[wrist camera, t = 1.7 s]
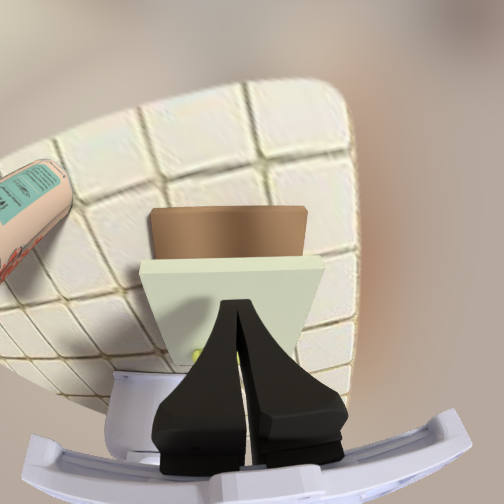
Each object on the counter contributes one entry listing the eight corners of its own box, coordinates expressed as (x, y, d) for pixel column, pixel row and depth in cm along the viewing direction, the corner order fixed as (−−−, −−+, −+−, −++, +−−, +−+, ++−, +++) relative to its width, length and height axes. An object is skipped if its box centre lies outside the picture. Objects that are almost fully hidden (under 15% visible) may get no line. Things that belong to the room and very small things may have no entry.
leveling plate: (175, 357, 24) (174, 379, 22) (141, 259, 15) (135, 291, 14) (286, 353, 25) (290, 374, 23) (320, 255, 16) (330, 285, 15)
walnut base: (177, 353, 25) (176, 361, 24) (153, 208, 18) (150, 214, 17) (284, 348, 26) (286, 356, 25) (303, 205, 19) (307, 211, 18)
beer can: (28, 217, 17) (-68, 317, 7) (24, 156, 15) (-98, 231, 4) (77, 223, 18) (-15, 342, 8) (76, 157, 16) (-53, 243, 5)
